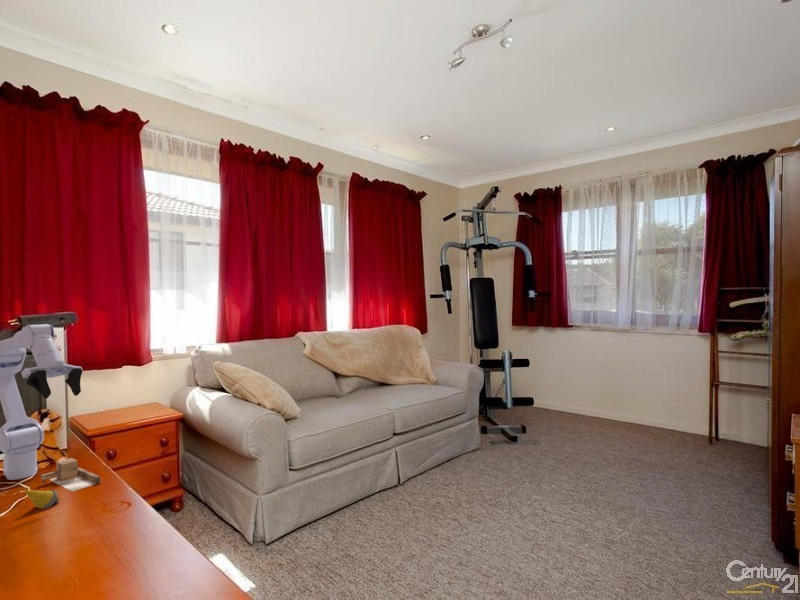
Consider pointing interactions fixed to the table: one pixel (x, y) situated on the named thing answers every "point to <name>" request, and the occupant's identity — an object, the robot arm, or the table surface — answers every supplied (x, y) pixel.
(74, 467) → the block
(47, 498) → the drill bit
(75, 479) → the board
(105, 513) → the table surface
